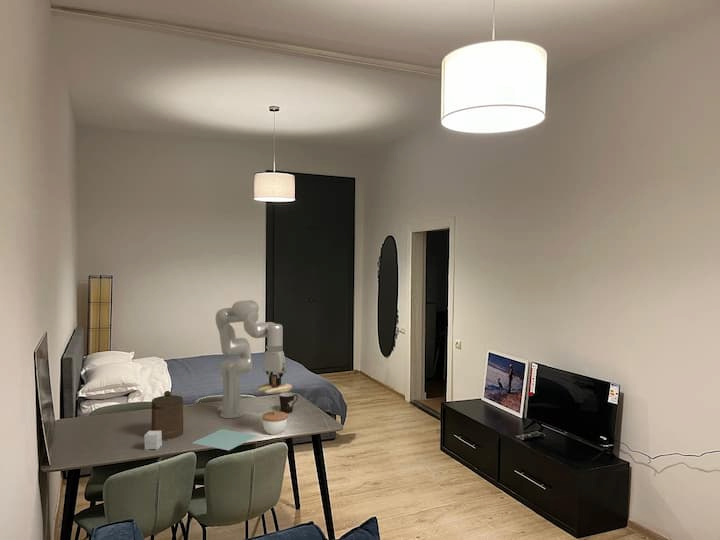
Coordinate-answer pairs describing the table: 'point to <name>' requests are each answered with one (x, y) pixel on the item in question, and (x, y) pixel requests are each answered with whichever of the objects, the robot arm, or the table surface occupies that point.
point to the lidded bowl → (274, 422)
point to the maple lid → (274, 387)
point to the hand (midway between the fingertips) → (275, 384)
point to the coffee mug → (287, 402)
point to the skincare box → (153, 439)
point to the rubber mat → (224, 439)
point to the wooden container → (168, 415)
